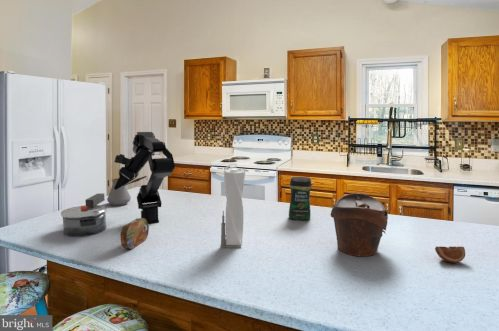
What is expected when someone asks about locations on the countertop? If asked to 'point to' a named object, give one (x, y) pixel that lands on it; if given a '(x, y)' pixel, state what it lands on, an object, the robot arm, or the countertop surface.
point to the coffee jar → (300, 198)
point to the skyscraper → (233, 209)
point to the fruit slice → (451, 253)
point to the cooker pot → (84, 226)
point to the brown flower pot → (359, 224)
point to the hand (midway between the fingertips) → (116, 188)
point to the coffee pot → (120, 193)
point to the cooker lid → (86, 208)
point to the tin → (134, 233)
